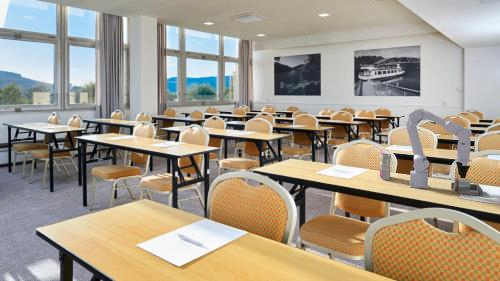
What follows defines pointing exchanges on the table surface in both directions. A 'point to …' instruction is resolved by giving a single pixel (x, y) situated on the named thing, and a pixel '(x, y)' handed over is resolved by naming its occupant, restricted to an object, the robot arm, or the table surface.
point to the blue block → (461, 185)
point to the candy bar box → (385, 165)
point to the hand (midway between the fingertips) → (461, 176)
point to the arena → (474, 190)
